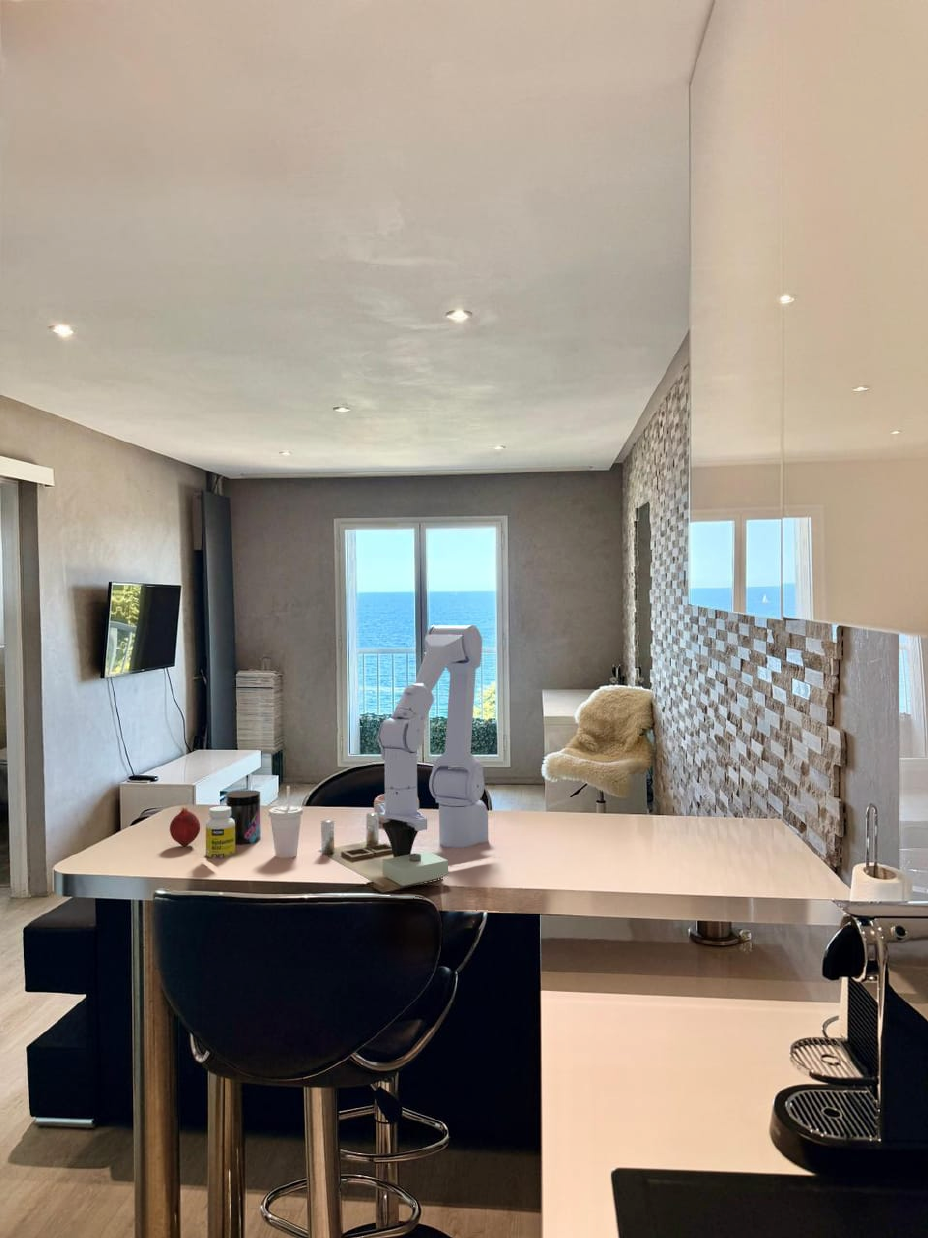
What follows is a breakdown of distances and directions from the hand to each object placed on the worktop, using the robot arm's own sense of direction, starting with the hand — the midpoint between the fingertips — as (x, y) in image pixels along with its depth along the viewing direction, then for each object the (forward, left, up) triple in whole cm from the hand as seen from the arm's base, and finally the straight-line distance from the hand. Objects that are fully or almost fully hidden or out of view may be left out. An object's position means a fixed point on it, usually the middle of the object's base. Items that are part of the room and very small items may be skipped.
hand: (401, 862), depth 149 cm
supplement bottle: (+23, -29, -3) cm, 37 cm away
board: (+1, -7, -2) cm, 8 cm away
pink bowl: (-18, -33, -3) cm, 38 cm away
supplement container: (+16, -36, -3) cm, 40 cm away
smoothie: (+13, -21, -3) cm, 25 cm away
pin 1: (+6, -18, -1) cm, 19 cm away
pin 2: (-4, -18, -1) cm, 18 cm away
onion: (+26, -42, -3) cm, 50 cm away
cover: (0, +5, -1) cm, 5 cm away
